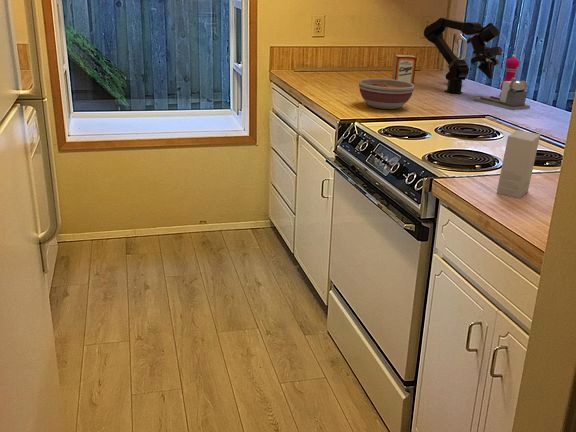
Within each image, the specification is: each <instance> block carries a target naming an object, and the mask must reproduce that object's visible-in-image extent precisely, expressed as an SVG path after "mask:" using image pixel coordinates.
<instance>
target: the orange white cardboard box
mask: <svg viewBox="0 0 576 432" xmlns="http://www.w3.org/2000/svg"><path fill="white" fill-rule="evenodd" d="M417 59H418V58H417V56H415V55H411V54H409V55H408V54H394V56H393V66H392V74H391V79H392V80H400V81H405V82H409V83H412V84H413V85H415V84H414V83H415V76H416V69H417V67H416V66H417Z"/></svg>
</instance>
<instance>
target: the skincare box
mask: <svg viewBox="0 0 576 432" xmlns="http://www.w3.org/2000/svg"><path fill="white" fill-rule="evenodd" d="M540 138H541V134H540V133H536V132H529V131H523V130H517V129H516V130H514V132H511V133H510V134H509V135H507V139H506V145H505V150H504V155H503V159H502V165H501V169H500V173H499V174H500V175H499V179H498V182H497V183H498V184H497V190H496V194H500V195H503V196H508V197H510V198H511V197H512V198H516V199H521V198H522V197H523V196H524V195H525V194H527V192H528V191H529V188H530V184H531V183H530V182H531V179H532V174H533V170H534V165H535V161H536V156H537V151H538V148H539V147H538V146H539V143H540V140H541V139H540Z"/></svg>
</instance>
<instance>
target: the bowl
mask: <svg viewBox="0 0 576 432" xmlns="http://www.w3.org/2000/svg"><path fill="white" fill-rule="evenodd" d="M358 87H359V93H360V95H361V97H362V99H363V100H364V102H365V103H366V104H367V105H369V106H370V107H372V108H376V109H383V110H394V109H400V108H401V107H403V106H404V105H405V104H406V103H408V102H409V100H410V99H411V98H412V95H413V93H414V90H415V84H412V83H409V82H405V81H400V80H392V78H391V79H390V78H364V79H360V80H359V81H358Z"/></svg>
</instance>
